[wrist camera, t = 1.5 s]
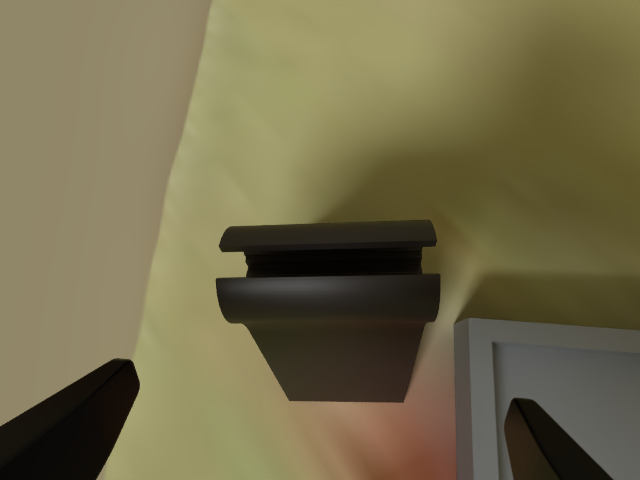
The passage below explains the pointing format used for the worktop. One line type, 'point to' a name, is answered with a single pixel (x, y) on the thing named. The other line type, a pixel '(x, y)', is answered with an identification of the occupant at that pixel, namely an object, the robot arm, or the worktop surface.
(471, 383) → the tray
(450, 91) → the worktop surface
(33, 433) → the robot arm
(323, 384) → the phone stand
